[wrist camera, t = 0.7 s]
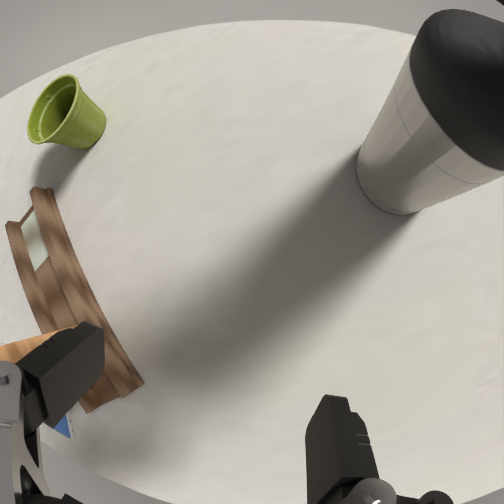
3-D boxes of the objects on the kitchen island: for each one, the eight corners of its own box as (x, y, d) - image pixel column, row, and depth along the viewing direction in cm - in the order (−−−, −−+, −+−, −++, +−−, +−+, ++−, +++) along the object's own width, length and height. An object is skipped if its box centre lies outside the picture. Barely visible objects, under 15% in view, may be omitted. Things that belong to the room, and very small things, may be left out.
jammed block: (111, 364, 31) (24, 409, 16) (86, 379, 32) (6, 419, 17) (88, 321, 31) (-6, 347, 17) (64, 340, 32) (-20, 366, 17)
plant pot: (104, 162, 33) (60, 141, 24) (60, 160, 34) (18, 145, 26) (125, 98, 33) (89, 68, 24) (79, 103, 34) (43, 80, 26)
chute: (144, 383, 31) (130, 394, 28) (99, 404, 33) (85, 414, 29) (51, 188, 34) (35, 184, 31) (19, 228, 36) (4, 227, 32)
